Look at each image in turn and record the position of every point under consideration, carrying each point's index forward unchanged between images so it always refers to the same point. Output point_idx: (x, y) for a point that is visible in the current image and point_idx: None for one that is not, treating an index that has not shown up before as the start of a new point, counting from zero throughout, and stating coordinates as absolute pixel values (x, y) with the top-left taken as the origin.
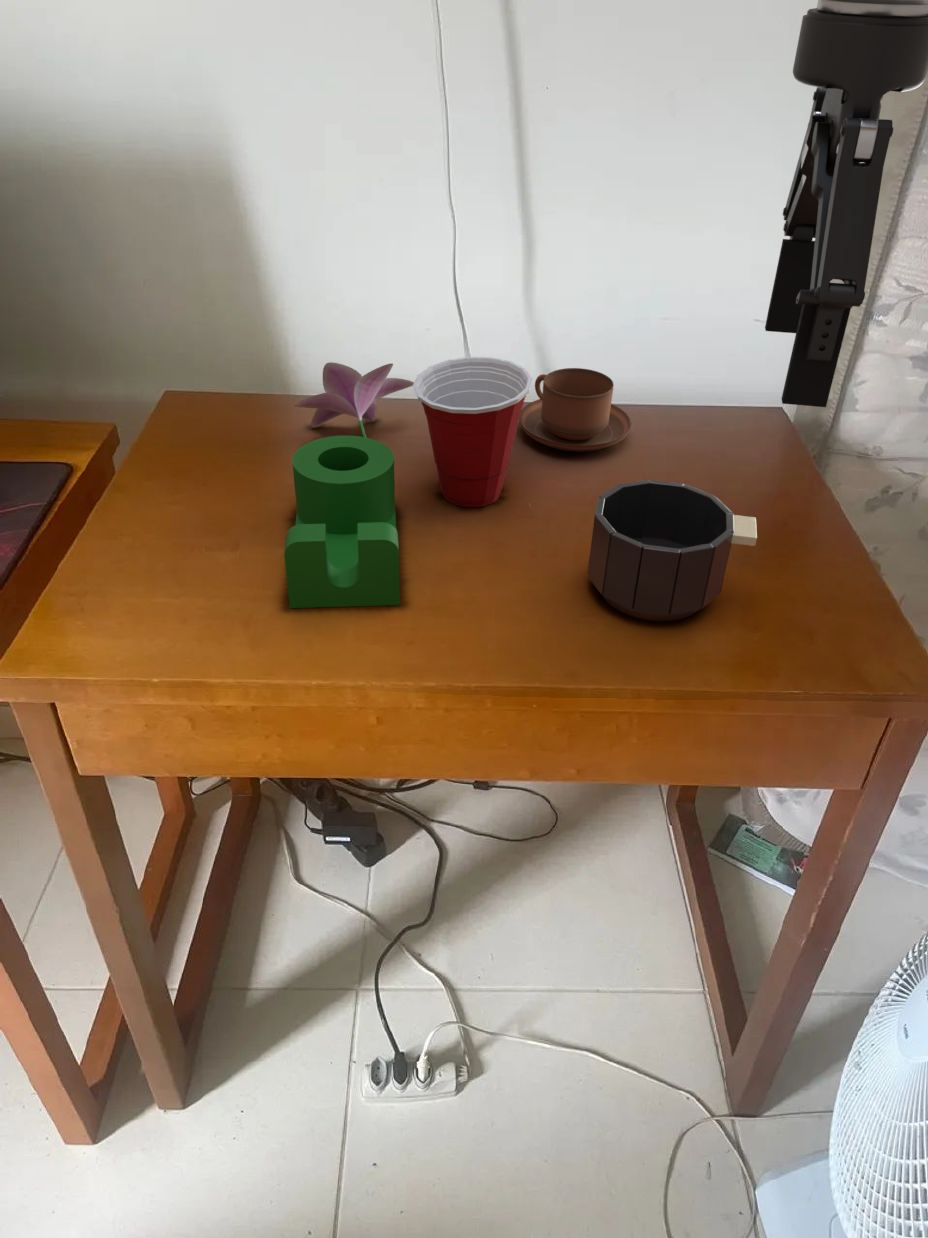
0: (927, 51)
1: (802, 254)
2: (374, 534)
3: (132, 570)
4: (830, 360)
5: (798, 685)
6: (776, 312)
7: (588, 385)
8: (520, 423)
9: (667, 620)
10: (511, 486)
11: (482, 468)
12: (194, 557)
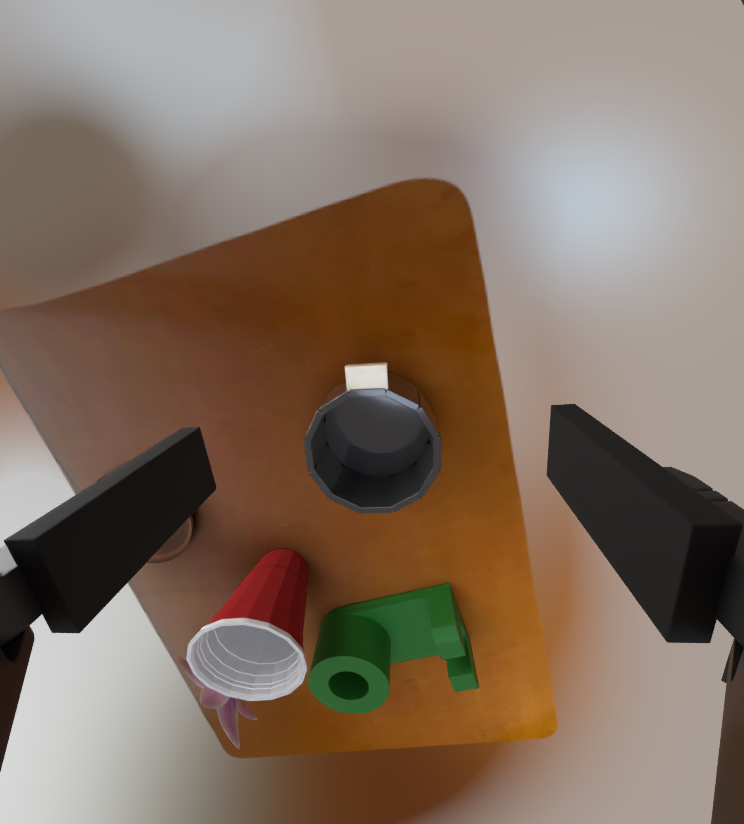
0: None
1: (87, 560)
2: (455, 647)
3: (451, 718)
4: (670, 467)
5: (482, 295)
6: (192, 496)
7: None
8: (171, 559)
9: None
10: (261, 542)
11: (299, 588)
12: (428, 695)
